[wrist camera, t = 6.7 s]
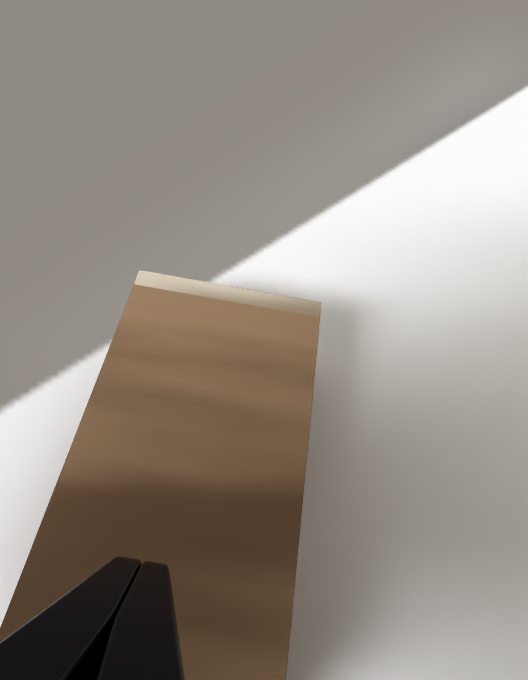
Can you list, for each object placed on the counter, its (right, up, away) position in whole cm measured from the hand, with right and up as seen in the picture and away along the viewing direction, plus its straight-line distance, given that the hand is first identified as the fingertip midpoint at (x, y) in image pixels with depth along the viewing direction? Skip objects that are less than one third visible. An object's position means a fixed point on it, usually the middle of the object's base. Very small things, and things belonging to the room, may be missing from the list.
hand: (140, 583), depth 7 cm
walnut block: (-1, -5, +3) cm, 6 cm away
